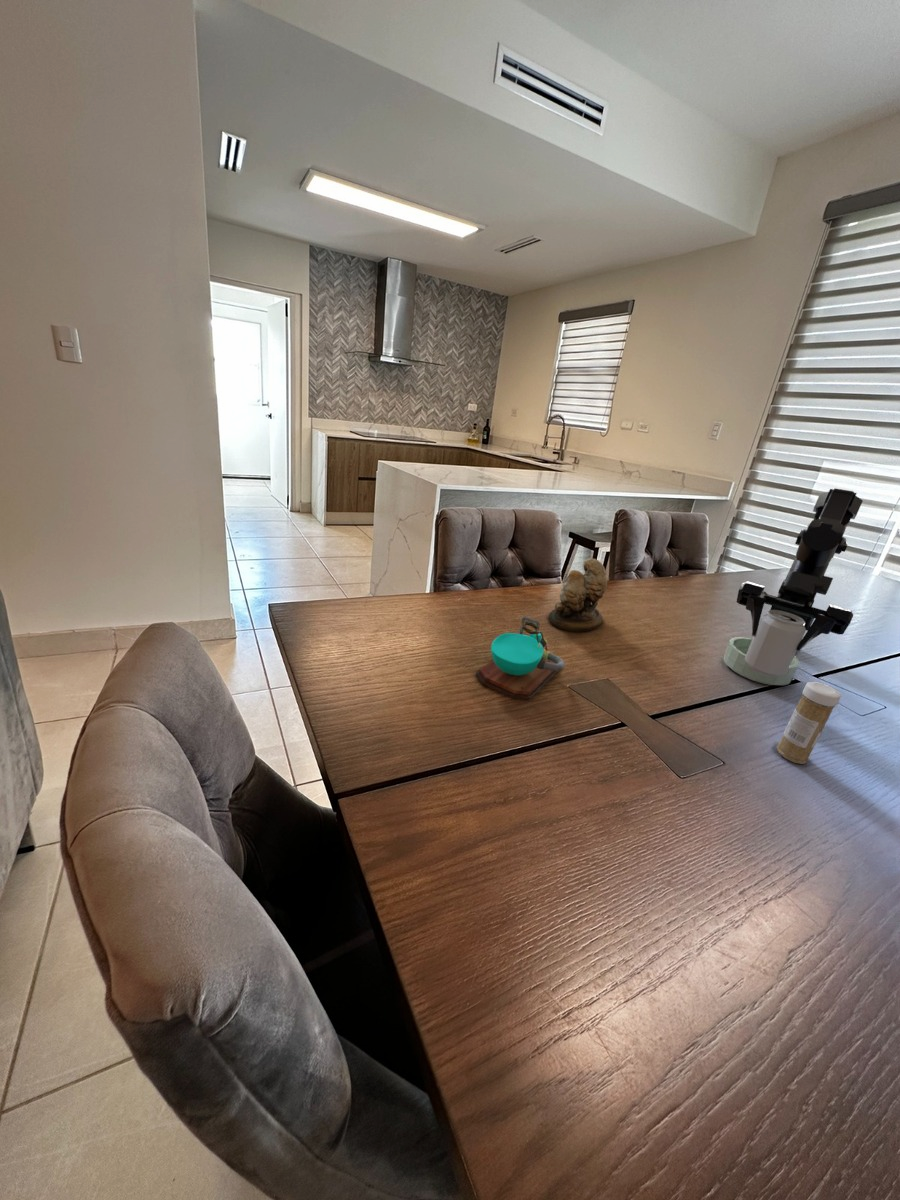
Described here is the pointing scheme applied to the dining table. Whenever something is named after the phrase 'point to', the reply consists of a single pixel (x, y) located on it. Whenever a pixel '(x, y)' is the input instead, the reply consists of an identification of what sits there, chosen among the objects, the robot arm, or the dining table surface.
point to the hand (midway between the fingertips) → (775, 642)
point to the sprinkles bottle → (808, 722)
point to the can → (775, 643)
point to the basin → (737, 663)
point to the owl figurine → (581, 598)
